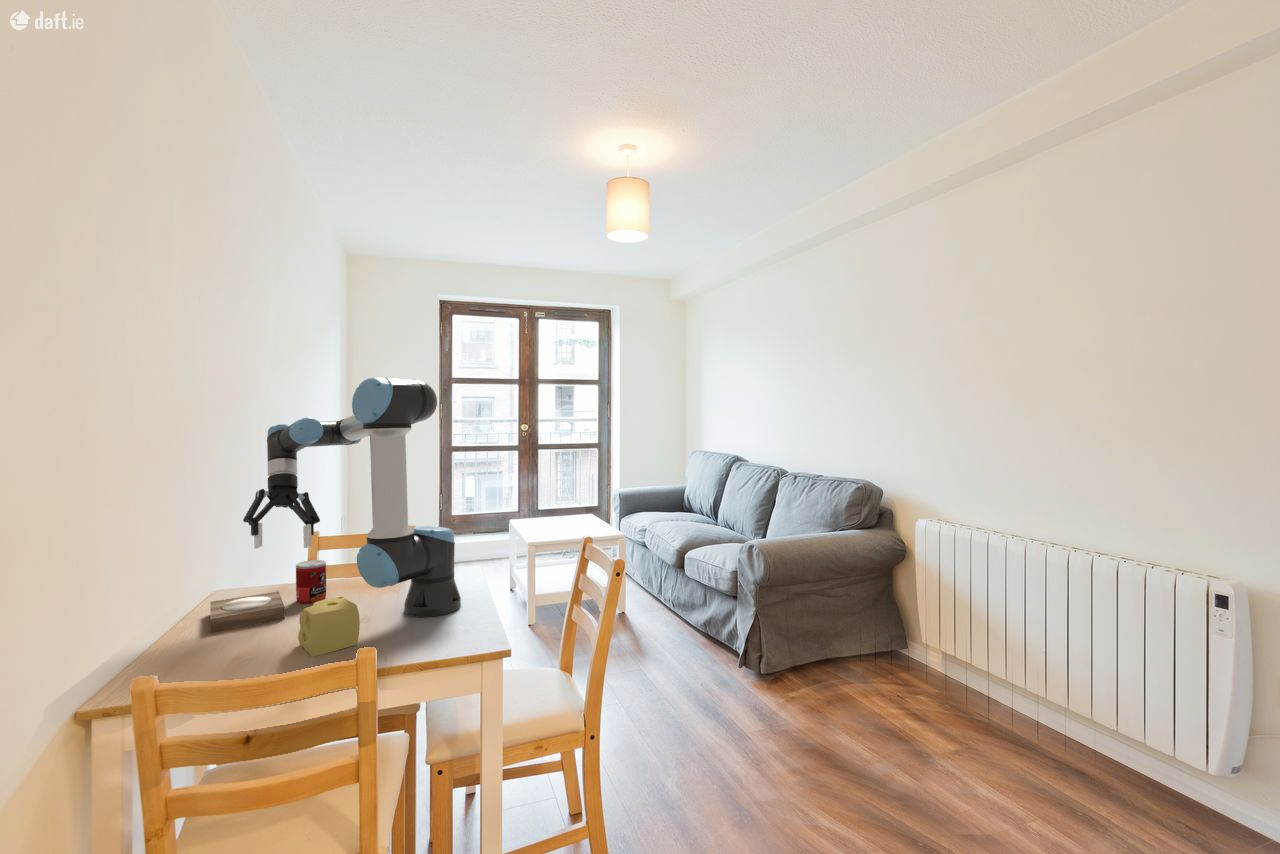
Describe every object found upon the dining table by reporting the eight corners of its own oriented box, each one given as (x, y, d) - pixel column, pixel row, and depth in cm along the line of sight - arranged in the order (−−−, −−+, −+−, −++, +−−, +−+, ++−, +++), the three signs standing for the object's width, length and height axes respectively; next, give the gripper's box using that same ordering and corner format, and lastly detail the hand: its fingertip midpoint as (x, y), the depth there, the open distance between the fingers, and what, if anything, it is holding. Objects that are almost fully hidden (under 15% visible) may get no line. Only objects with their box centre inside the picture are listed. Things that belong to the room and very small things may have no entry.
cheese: (298, 645, 139) (297, 604, 139) (346, 633, 147) (345, 594, 146) (311, 658, 132) (310, 615, 131) (360, 645, 139) (360, 604, 139)
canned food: (313, 605, 167) (313, 567, 167) (289, 603, 169) (289, 565, 169) (332, 596, 175) (332, 560, 175) (309, 595, 176) (309, 559, 176)
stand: (284, 619, 156) (284, 605, 156) (210, 632, 146) (210, 617, 146) (279, 603, 169) (278, 590, 169) (210, 614, 159) (210, 600, 159)
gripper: (316, 483, 184) (319, 549, 178) (229, 475, 163) (228, 550, 157) (330, 476, 181) (333, 543, 174) (243, 467, 160) (242, 543, 153)
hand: (283, 547), depth 165 cm, fingers open, 13 cm apart
